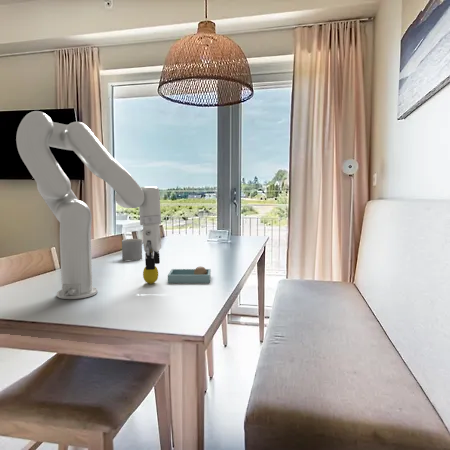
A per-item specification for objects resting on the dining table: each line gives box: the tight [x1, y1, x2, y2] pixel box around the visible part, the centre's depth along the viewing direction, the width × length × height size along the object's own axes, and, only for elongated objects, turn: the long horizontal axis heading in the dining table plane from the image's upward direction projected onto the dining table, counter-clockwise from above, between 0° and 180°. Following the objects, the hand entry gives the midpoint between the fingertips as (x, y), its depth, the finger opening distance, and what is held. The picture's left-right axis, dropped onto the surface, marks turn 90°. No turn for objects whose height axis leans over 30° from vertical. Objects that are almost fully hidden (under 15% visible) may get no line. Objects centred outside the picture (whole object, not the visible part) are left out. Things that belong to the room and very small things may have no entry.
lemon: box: [142, 265, 159, 285], centre depth 136 cm, size 6×6×8 cm
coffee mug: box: [121, 238, 143, 261], centre depth 191 cm, size 13×10×10 cm
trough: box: [167, 268, 212, 284], centre depth 142 cm, size 11×16×4 cm
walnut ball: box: [194, 266, 207, 275], centre depth 142 cm, size 5×5×5 cm
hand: (153, 266), depth 136 cm, fingers open, 9 cm apart
